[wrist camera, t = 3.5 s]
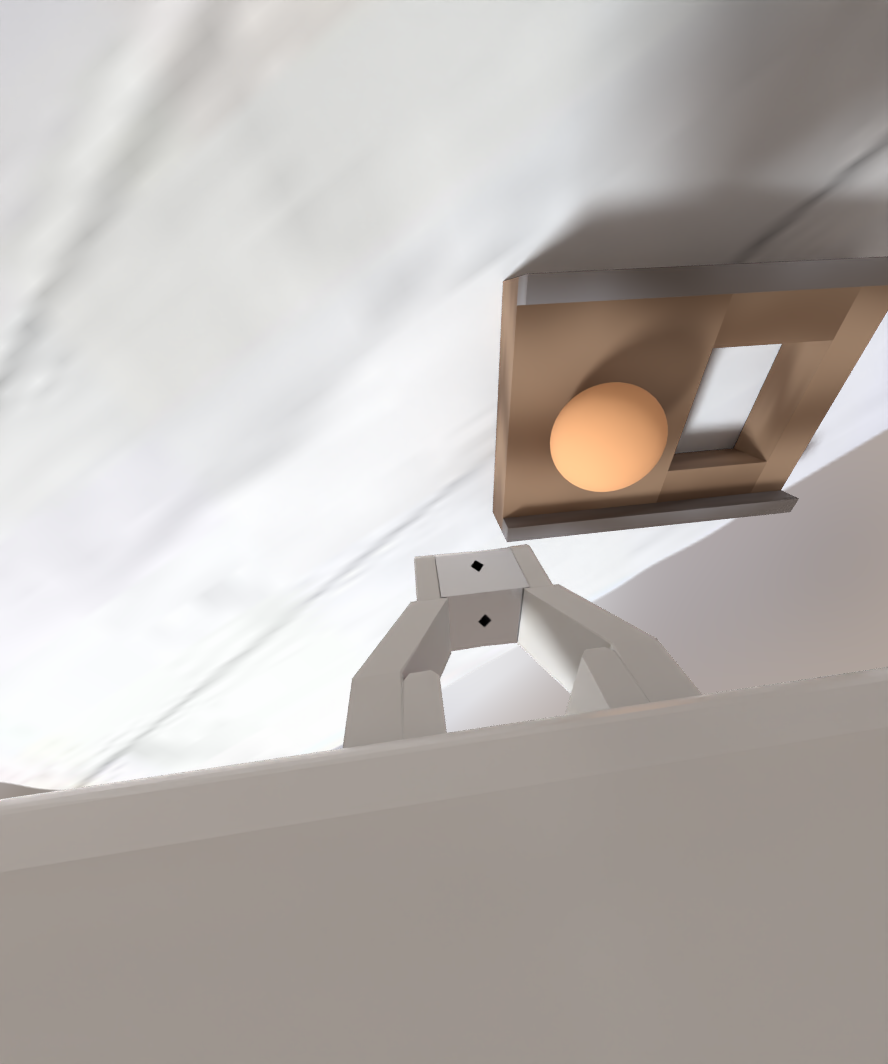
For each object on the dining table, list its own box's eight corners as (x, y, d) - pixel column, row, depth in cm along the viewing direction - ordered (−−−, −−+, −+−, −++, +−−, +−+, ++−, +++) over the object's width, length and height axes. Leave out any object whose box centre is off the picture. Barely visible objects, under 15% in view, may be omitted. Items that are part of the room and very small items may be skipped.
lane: (503, 281, 16) (528, 273, 13) (857, 263, 17) (956, 253, 14) (492, 511, 23) (507, 542, 20) (741, 487, 24) (790, 512, 21)
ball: (541, 377, 16) (590, 399, 12) (637, 370, 16) (717, 390, 12) (530, 471, 19) (567, 515, 15) (613, 464, 19) (671, 505, 15)
